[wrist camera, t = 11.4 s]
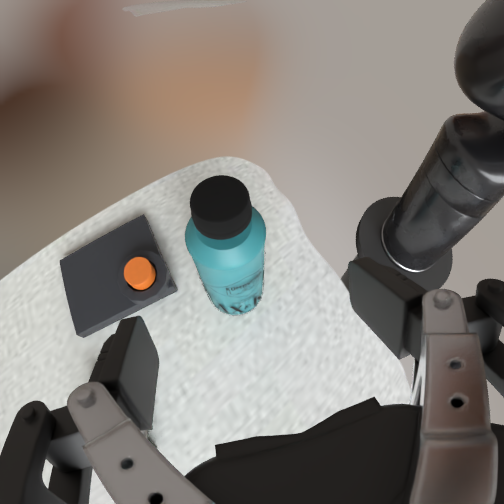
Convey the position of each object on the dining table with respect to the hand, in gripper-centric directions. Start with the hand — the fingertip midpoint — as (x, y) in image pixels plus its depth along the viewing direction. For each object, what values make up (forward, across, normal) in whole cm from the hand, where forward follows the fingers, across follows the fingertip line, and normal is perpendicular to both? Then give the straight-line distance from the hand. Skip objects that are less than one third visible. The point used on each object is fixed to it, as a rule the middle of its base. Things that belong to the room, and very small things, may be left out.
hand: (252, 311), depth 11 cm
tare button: (+24, -11, -6) cm, 27 cm away
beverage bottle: (+24, 0, -11) cm, 26 cm away
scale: (+28, -16, -7) cm, 33 cm away
